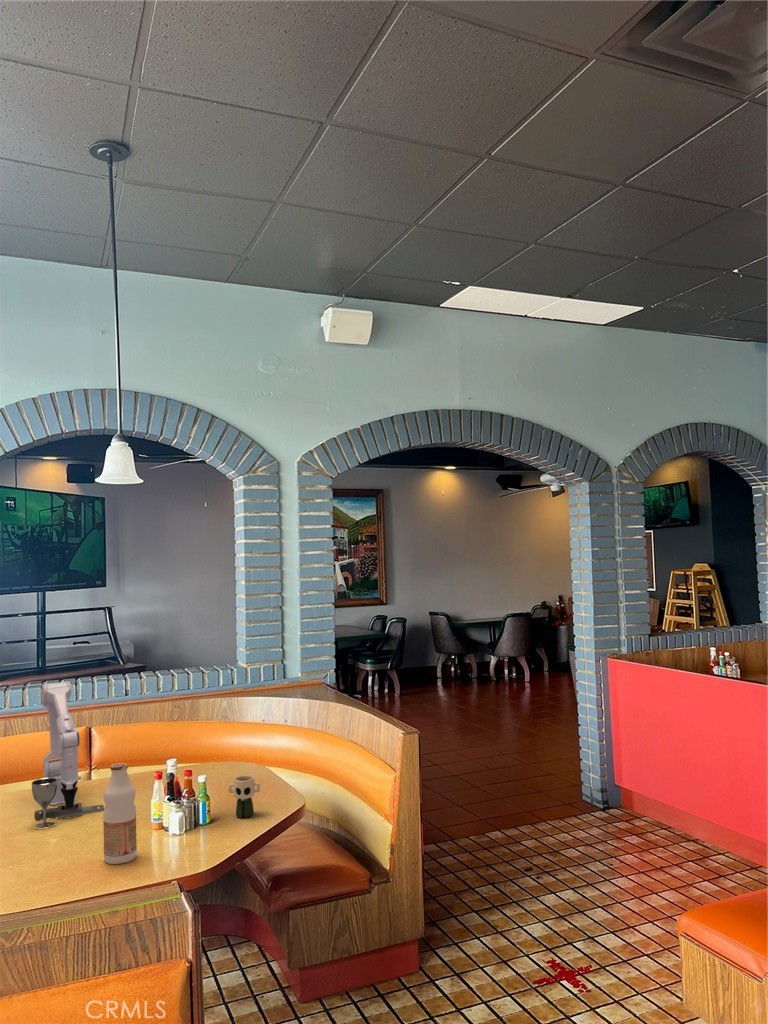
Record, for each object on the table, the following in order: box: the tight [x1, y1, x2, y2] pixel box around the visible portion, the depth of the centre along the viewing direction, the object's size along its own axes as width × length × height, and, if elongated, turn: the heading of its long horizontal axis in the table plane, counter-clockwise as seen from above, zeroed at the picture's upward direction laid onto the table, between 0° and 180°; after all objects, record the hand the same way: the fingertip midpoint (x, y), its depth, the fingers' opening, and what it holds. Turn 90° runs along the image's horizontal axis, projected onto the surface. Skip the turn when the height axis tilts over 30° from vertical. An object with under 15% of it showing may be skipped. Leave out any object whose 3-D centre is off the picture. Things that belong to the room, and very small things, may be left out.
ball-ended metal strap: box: [33, 802, 105, 821], centre depth 277 cm, size 23×8×2 cm, turn 112°
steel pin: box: [63, 793, 78, 810], centre depth 277 cm, size 4×4×9 cm
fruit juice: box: [102, 762, 138, 865], centre depth 235 cm, size 9×9×28 cm
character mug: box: [228, 774, 261, 818], centre depth 269 cm, size 11×7×13 cm, turn 90°
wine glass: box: [31, 777, 57, 828], centre depth 266 cm, size 8×8×15 cm
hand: (69, 804), depth 277 cm, fingers open, 7 cm apart
